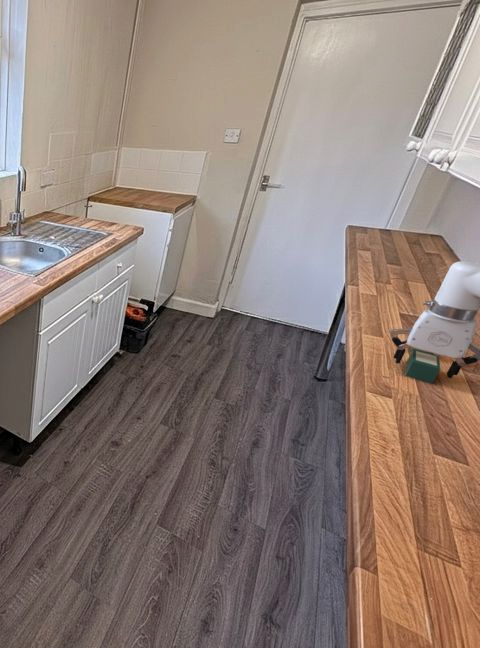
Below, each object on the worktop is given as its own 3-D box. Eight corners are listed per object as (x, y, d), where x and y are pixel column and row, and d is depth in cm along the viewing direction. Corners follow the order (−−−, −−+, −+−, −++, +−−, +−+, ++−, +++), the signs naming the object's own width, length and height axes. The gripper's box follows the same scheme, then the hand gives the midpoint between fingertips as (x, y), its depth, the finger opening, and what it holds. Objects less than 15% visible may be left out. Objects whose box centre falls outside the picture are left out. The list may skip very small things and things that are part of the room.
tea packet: (432, 383, 106) (440, 368, 104) (405, 375, 109) (412, 361, 107) (431, 369, 111) (439, 355, 110) (406, 362, 115) (413, 348, 113)
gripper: (403, 304, 106) (377, 361, 113) (508, 327, 94) (472, 388, 101) (404, 296, 111) (379, 351, 117) (504, 317, 99) (470, 376, 106)
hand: (422, 368), depth 109 cm, fingers open, 9 cm apart
